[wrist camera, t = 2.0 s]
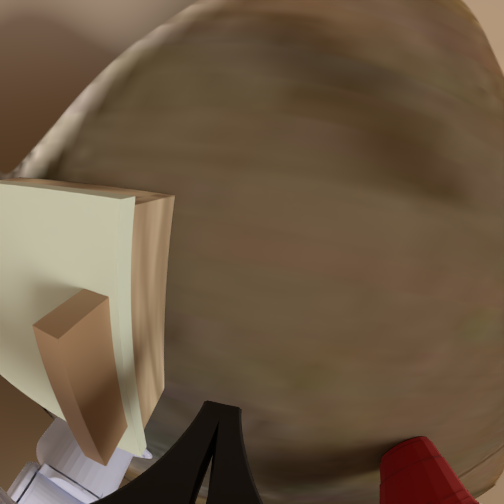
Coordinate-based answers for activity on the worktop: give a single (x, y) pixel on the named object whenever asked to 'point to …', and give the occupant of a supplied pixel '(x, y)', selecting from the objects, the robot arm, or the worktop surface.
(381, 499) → the plastic cup
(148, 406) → the storage box
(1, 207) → the lid
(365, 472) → the worktop surface
